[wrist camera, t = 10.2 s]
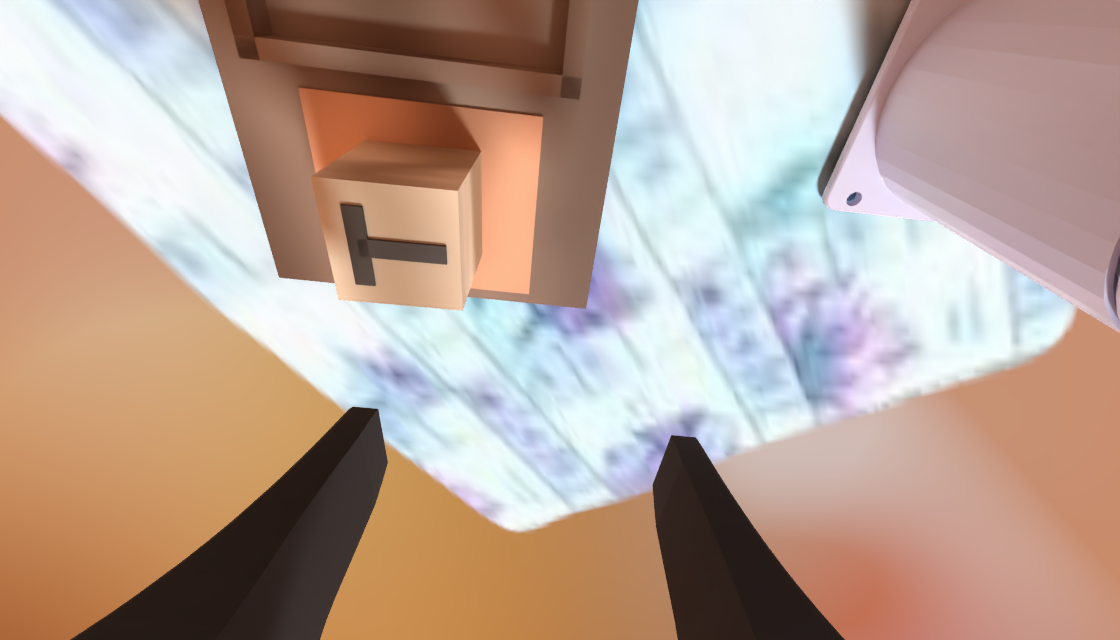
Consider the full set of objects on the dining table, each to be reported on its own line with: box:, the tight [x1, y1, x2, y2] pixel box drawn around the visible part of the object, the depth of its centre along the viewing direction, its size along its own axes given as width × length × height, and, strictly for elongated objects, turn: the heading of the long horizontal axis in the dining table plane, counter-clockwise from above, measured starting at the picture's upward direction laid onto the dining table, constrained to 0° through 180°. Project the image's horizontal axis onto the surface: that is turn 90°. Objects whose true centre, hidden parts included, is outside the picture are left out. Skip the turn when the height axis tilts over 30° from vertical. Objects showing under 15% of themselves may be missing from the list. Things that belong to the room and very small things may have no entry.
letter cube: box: [311, 140, 482, 310], centre depth 15 cm, size 4×4×4 cm
